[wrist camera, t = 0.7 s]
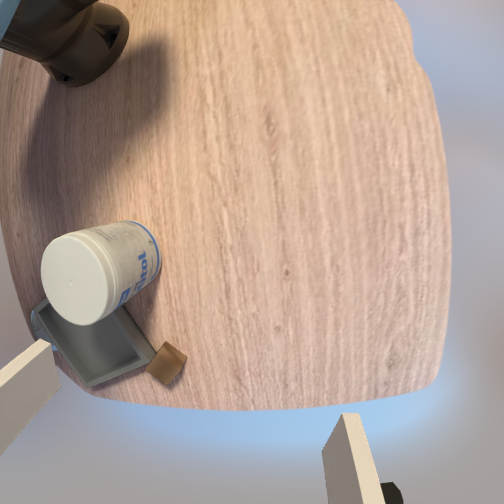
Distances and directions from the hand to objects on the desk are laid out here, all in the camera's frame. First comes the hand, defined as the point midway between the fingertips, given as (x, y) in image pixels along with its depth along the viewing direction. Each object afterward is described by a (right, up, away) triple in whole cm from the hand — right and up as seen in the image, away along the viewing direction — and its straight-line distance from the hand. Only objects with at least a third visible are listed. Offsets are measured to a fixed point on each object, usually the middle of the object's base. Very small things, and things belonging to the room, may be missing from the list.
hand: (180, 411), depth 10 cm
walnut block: (-10, -10, +31) cm, 34 cm away
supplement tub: (-14, +7, +28) cm, 32 cm away
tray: (-23, -6, +31) cm, 40 cm away
